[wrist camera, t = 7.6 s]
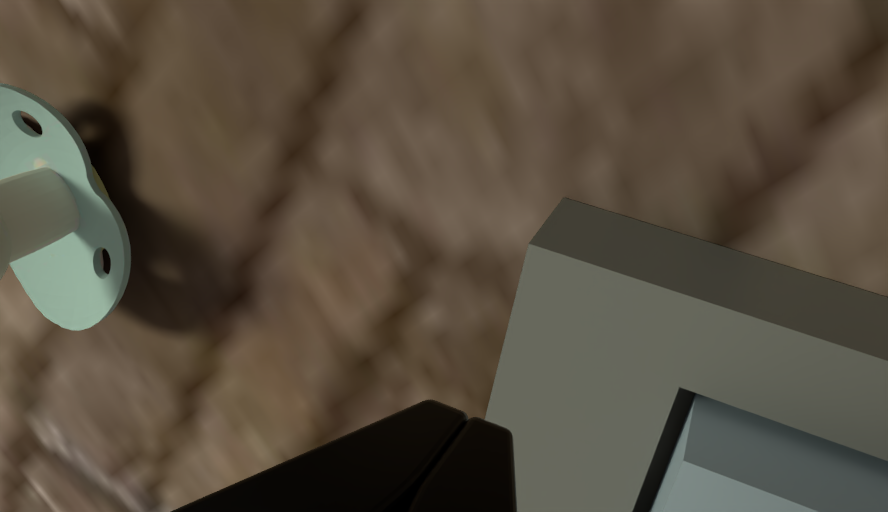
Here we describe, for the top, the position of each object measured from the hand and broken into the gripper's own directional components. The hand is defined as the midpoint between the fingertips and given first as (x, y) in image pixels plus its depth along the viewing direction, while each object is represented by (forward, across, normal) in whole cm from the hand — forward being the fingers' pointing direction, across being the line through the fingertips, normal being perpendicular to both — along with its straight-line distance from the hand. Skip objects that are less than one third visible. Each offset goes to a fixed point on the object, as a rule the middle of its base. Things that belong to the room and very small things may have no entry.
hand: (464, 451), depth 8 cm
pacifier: (+12, +16, +7) cm, 22 cm away
